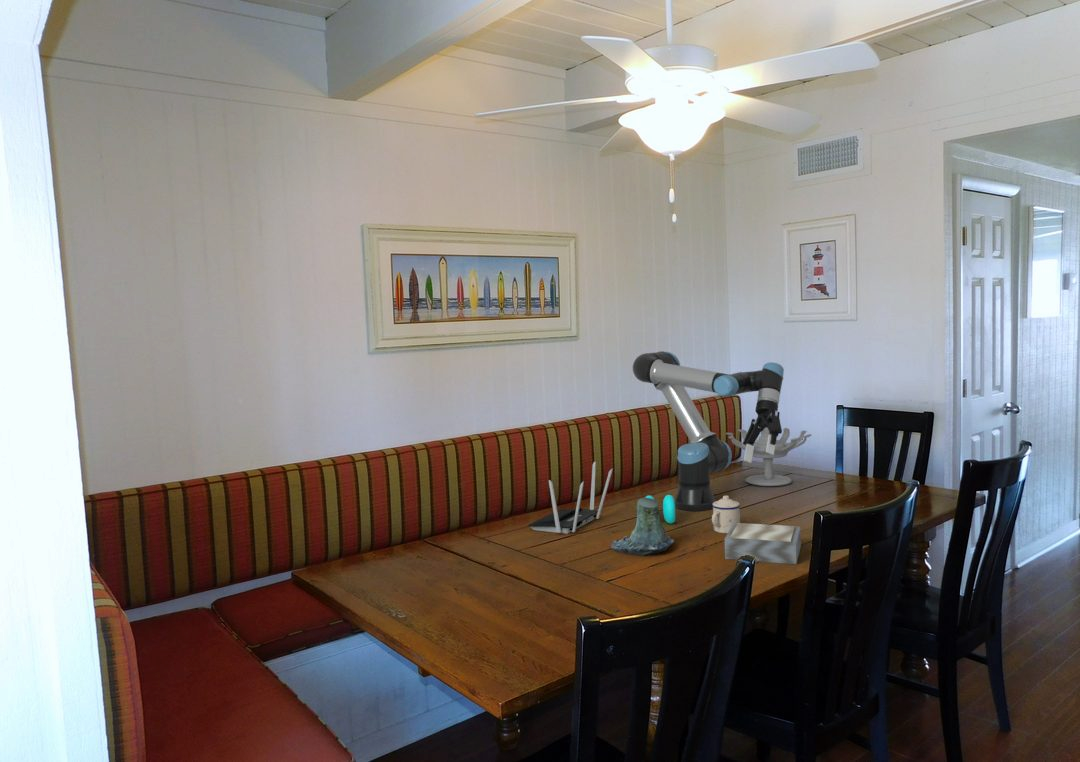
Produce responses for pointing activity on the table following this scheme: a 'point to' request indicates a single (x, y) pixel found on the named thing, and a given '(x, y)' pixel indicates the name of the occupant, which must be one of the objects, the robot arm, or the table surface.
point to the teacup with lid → (725, 514)
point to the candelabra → (779, 451)
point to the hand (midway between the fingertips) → (758, 458)
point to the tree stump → (645, 532)
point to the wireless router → (571, 511)
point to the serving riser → (764, 542)
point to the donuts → (668, 508)
